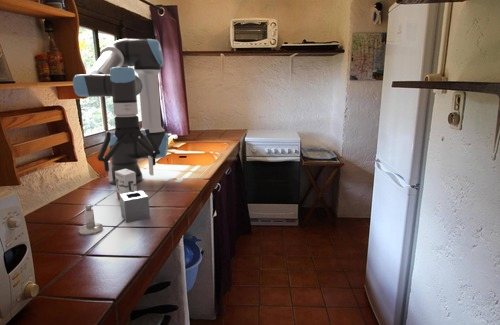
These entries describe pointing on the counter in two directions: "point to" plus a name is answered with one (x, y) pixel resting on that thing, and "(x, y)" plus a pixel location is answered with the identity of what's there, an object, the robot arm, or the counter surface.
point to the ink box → (125, 181)
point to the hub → (90, 223)
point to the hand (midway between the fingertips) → (131, 177)
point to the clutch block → (134, 206)
